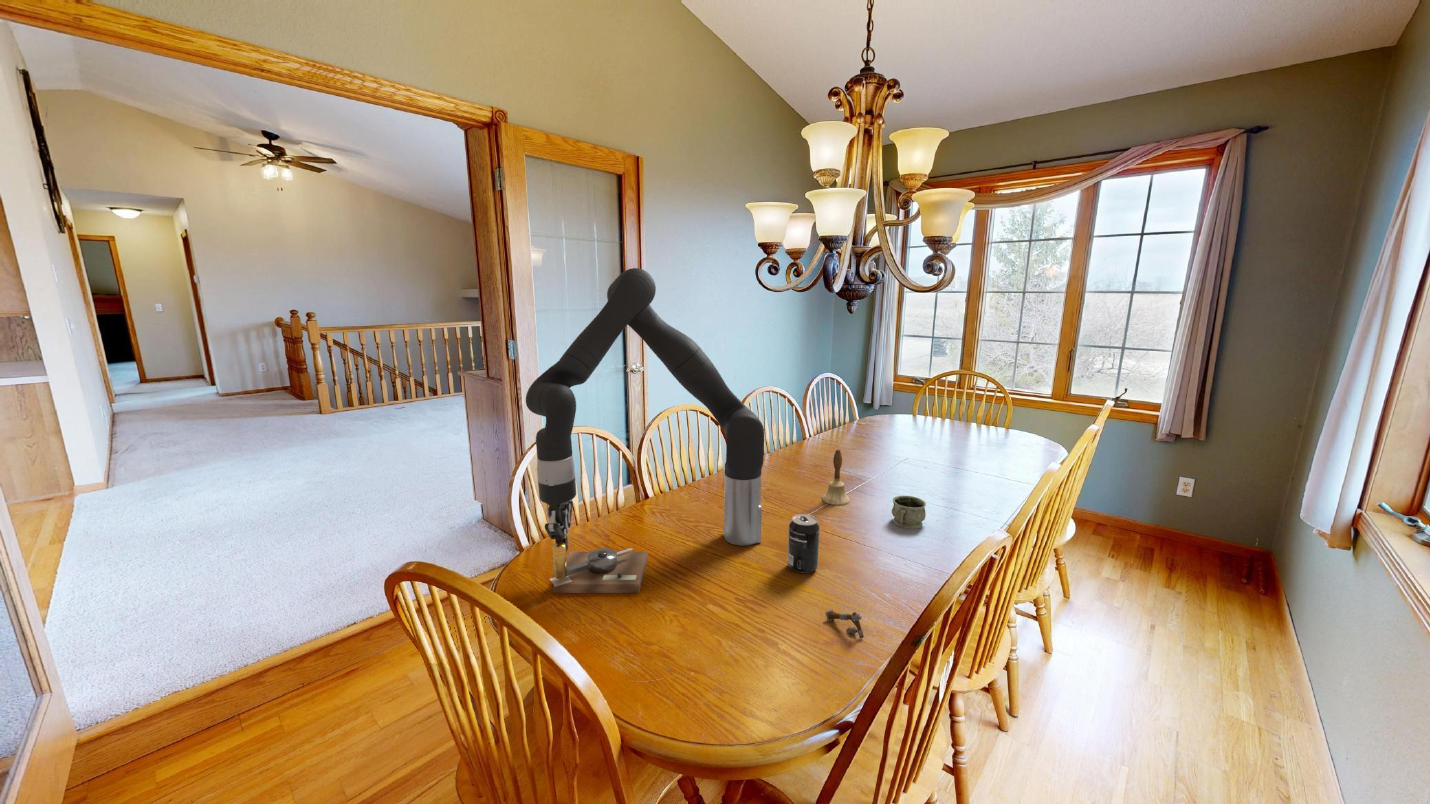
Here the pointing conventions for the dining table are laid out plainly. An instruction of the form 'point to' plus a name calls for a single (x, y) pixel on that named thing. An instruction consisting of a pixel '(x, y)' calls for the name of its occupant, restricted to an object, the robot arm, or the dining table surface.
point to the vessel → (908, 511)
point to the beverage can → (803, 543)
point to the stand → (604, 576)
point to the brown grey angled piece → (845, 616)
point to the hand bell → (836, 485)
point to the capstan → (596, 561)
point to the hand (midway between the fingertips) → (562, 551)
